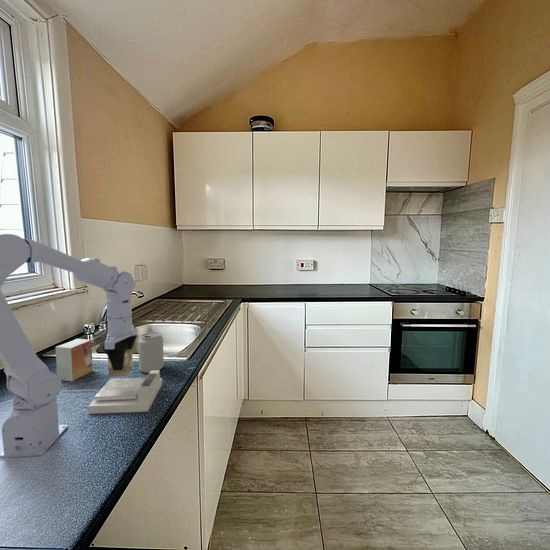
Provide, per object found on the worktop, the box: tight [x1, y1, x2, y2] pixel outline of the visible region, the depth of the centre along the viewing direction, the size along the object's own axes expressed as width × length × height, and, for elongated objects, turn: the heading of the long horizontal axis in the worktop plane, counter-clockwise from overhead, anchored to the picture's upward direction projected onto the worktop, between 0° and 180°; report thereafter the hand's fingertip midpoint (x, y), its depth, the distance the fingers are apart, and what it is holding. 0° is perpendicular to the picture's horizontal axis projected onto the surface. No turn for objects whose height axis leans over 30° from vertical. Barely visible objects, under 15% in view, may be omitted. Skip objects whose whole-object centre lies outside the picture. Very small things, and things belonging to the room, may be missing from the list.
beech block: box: [107, 348, 134, 377], centre depth 81 cm, size 4×4×6 cm
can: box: [137, 331, 165, 374], centre depth 100 cm, size 8×8×12 cm
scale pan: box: [93, 377, 146, 401], centre depth 82 cm, size 10×10×1 cm
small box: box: [55, 338, 94, 382], centre depth 94 cm, size 8×6×10 cm
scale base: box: [88, 370, 163, 415], centre depth 82 cm, size 14×14×5 cm
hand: (121, 365), depth 81 cm, fingers closed on beech block, 4 cm apart
